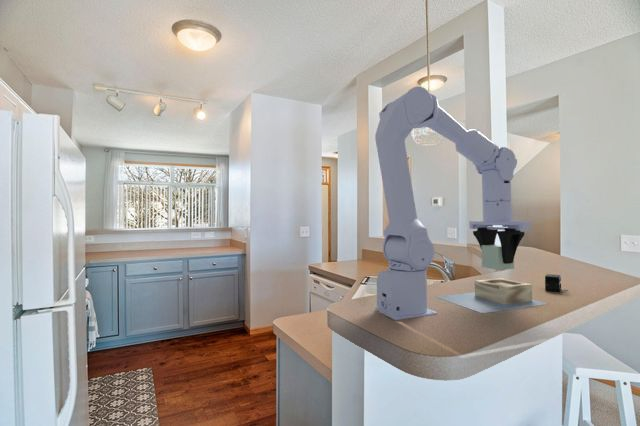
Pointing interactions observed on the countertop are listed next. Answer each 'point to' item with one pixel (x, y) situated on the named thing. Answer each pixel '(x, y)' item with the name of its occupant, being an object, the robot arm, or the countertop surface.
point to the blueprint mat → (485, 303)
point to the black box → (553, 283)
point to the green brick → (494, 258)
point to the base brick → (503, 290)
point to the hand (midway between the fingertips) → (498, 261)
